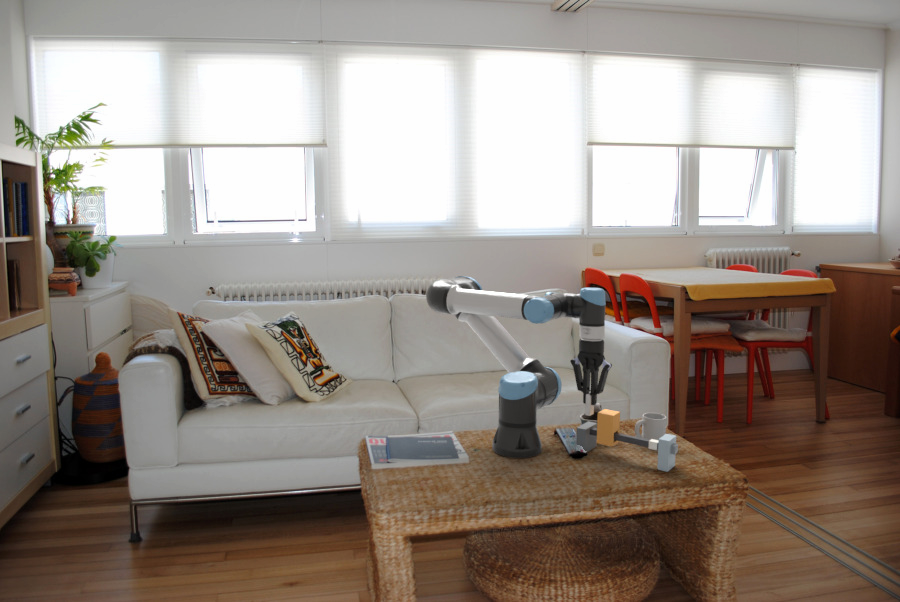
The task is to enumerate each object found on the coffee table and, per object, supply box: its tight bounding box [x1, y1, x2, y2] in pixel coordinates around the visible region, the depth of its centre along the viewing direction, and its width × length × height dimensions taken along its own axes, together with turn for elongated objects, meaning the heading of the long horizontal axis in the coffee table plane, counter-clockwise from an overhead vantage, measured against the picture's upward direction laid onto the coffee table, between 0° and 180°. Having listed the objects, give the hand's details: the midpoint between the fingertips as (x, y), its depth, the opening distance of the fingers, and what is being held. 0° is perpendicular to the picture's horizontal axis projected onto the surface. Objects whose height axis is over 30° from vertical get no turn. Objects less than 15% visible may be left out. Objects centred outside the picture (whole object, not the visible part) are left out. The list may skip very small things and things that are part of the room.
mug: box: [579, 402, 603, 426], centre depth 217 cm, size 10×12×10 cm
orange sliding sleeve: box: [596, 408, 621, 447], centre depth 200 cm, size 5×5×10 cm
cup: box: [634, 412, 667, 440], centre depth 210 cm, size 7×10×9 cm
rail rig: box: [575, 421, 679, 473], centre depth 197 cm, size 29×8×9 cm, turn 53°
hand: (589, 414), depth 204 cm, fingers closed
